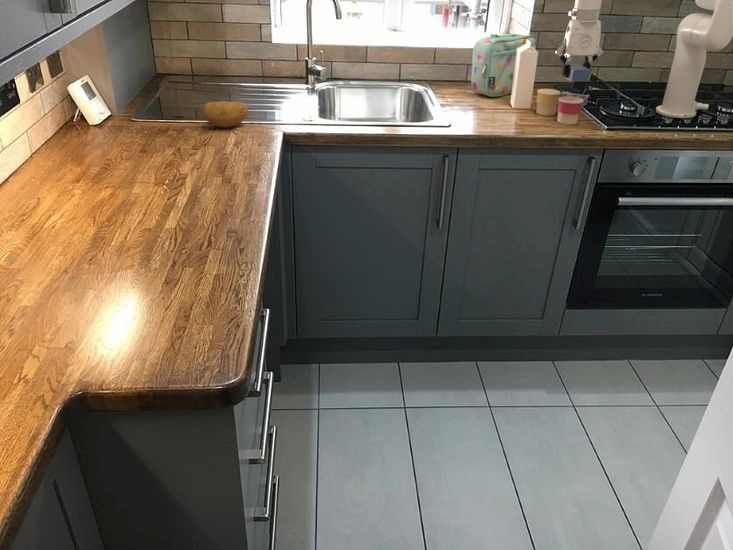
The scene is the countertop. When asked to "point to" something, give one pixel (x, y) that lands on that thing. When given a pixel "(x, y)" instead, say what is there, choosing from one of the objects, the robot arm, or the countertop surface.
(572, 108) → the raspberry yogurt
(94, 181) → the countertop surface
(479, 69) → the lunch box
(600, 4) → the robot arm
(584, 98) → the egg carton
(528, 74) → the milk
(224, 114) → the potato
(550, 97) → the vanilla yogurt
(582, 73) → the block
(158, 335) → the countertop surface
